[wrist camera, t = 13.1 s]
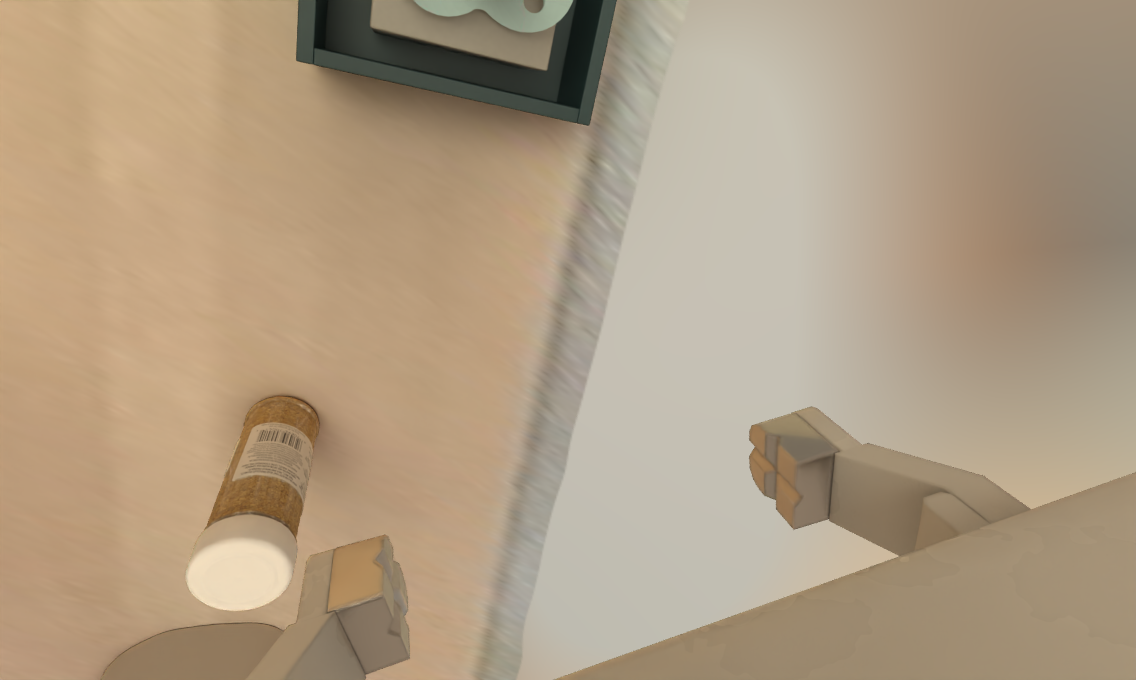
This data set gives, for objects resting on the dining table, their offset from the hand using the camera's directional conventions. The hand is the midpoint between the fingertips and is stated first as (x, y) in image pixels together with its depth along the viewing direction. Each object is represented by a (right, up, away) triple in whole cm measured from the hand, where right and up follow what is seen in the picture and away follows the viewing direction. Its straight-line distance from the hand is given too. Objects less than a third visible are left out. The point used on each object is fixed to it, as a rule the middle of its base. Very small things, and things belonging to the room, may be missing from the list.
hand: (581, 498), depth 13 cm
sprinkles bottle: (-19, -2, +27) cm, 33 cm away
